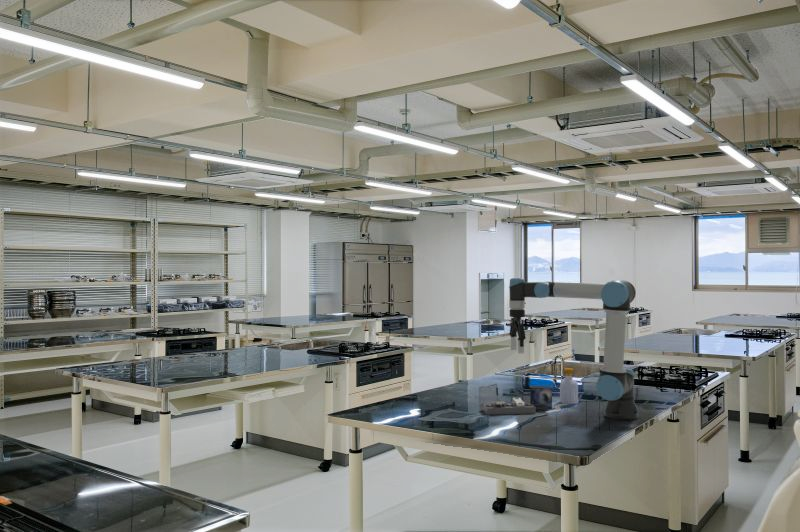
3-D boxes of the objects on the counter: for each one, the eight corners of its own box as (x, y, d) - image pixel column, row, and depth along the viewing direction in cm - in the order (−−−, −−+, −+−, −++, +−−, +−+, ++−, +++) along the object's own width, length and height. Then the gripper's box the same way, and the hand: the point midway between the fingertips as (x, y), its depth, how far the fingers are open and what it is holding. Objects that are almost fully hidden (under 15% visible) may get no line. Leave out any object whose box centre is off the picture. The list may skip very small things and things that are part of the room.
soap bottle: (578, 404, 321) (578, 357, 322) (560, 404, 323) (560, 356, 324) (577, 401, 330) (577, 354, 331) (559, 400, 332) (559, 354, 332)
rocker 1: (504, 403, 302) (504, 400, 302) (497, 403, 302) (496, 401, 302) (500, 403, 310) (500, 400, 310) (493, 403, 309) (493, 401, 310)
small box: (530, 408, 314) (530, 387, 314) (530, 405, 320) (529, 385, 320) (552, 409, 312) (552, 388, 312) (551, 406, 319) (550, 385, 319)
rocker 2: (524, 406, 303) (524, 403, 303) (517, 406, 303) (517, 404, 303) (519, 399, 311) (519, 397, 311) (512, 400, 311) (512, 397, 310)
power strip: (551, 412, 303) (551, 403, 303) (487, 414, 300) (487, 405, 300) (544, 408, 313) (544, 399, 313) (482, 410, 310) (482, 400, 310)
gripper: (531, 310, 299) (532, 354, 299) (517, 307, 324) (517, 348, 324) (516, 310, 299) (516, 354, 299) (503, 307, 324) (503, 348, 323)
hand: (517, 351), depth 311 cm, fingers open, 13 cm apart
